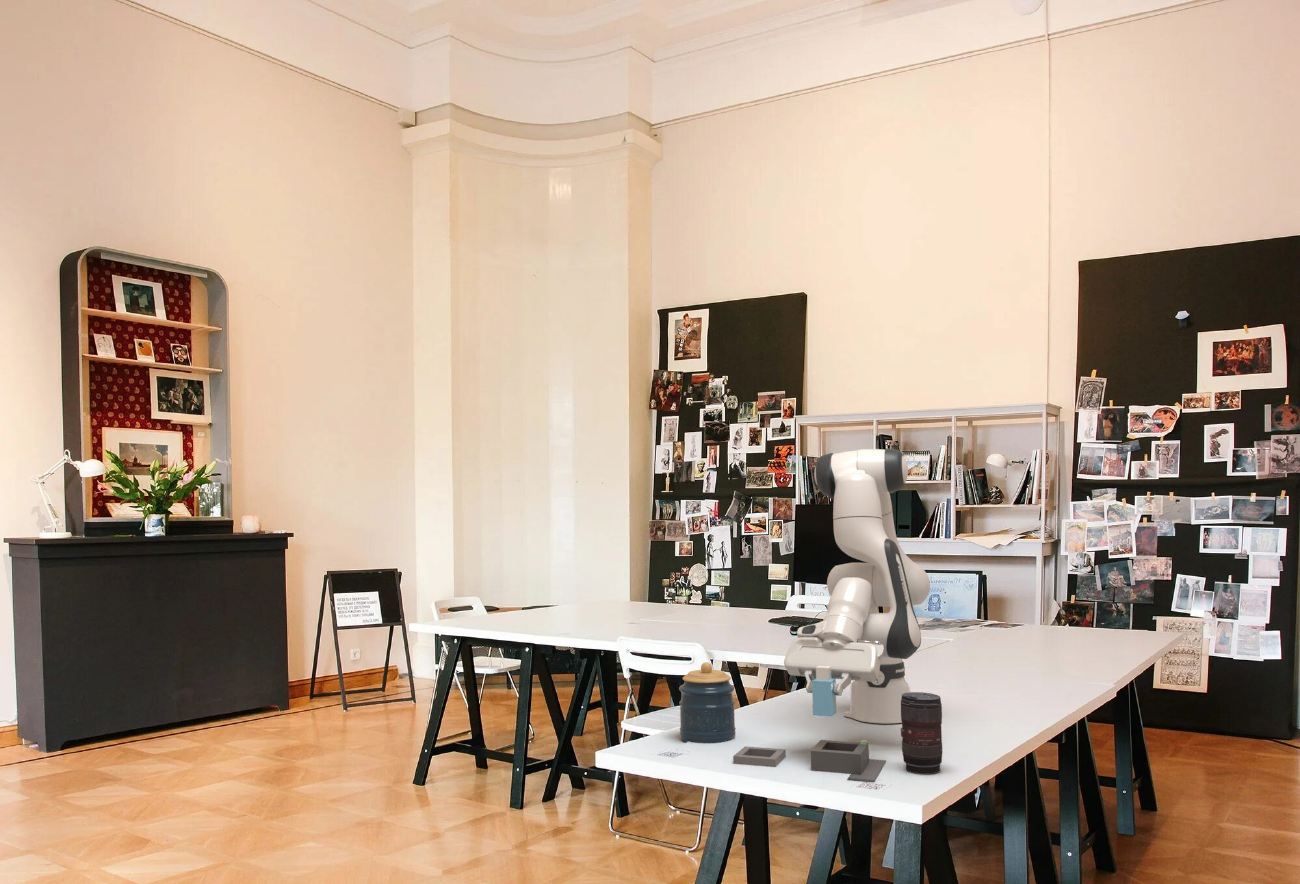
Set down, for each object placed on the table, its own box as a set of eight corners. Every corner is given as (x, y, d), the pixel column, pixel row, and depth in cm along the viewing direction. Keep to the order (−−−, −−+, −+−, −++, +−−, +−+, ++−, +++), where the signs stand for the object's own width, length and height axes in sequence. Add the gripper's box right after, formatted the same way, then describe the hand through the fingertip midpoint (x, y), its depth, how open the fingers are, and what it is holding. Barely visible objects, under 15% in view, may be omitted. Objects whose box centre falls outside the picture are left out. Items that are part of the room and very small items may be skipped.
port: (810, 756, 214) (809, 732, 215) (885, 762, 209) (885, 737, 209) (793, 775, 200) (792, 750, 200) (874, 782, 194) (873, 756, 194)
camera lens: (926, 777, 196) (924, 700, 197) (894, 769, 203) (891, 694, 204) (952, 770, 201) (949, 695, 202) (920, 762, 208) (917, 689, 209)
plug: (817, 711, 208) (816, 664, 209) (836, 712, 207) (835, 665, 208) (812, 715, 205) (811, 667, 205) (832, 716, 203) (831, 668, 204)
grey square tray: (745, 755, 216) (744, 746, 216) (785, 758, 213) (785, 749, 213) (733, 765, 208) (733, 756, 208) (775, 769, 204) (775, 759, 205)
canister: (747, 738, 233) (745, 661, 234) (712, 748, 223) (710, 668, 224) (703, 730, 241) (702, 656, 243) (668, 740, 232) (667, 663, 233)
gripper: (890, 651, 211) (875, 706, 202) (800, 645, 222) (783, 697, 213) (882, 632, 207) (867, 687, 198) (791, 627, 218) (773, 679, 209)
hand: (823, 692), depth 206 cm, fingers closed on plug, 4 cm apart
